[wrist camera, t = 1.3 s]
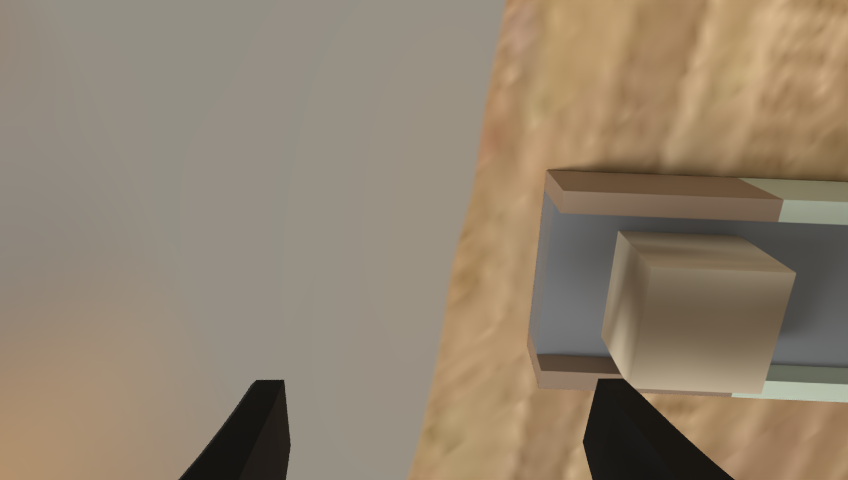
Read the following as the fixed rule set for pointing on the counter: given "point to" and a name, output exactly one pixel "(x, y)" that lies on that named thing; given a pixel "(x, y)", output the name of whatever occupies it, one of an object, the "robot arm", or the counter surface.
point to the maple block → (694, 311)
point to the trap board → (693, 214)
